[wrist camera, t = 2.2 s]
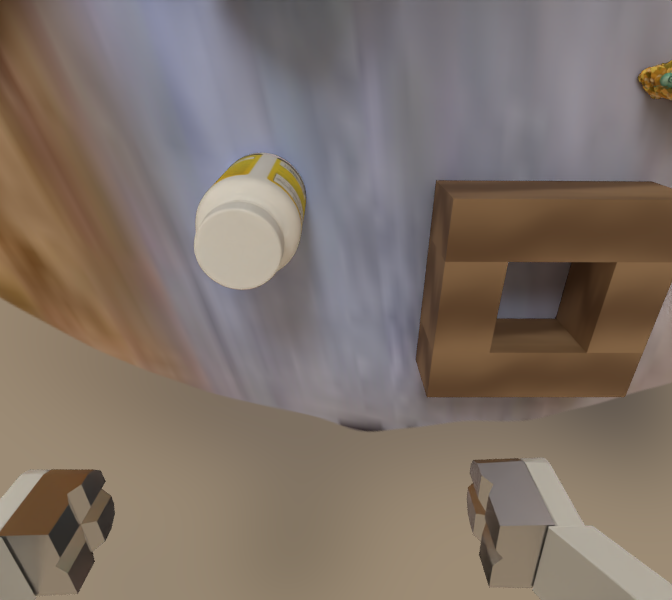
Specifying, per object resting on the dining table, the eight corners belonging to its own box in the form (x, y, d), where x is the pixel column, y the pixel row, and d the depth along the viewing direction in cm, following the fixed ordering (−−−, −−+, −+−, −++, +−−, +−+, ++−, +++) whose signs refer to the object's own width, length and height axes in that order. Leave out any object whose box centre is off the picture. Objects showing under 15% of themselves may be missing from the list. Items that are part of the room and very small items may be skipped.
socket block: (436, 180, 28) (453, 198, 24) (652, 181, 28) (704, 200, 24) (415, 359, 35) (426, 397, 31) (591, 359, 35) (624, 396, 31)
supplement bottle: (217, 222, 29) (169, 287, 21) (231, 140, 27) (184, 174, 18) (296, 243, 30) (282, 314, 21) (316, 165, 28) (310, 210, 19)
